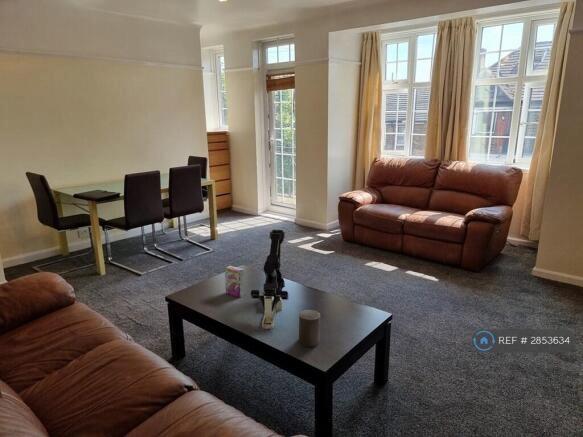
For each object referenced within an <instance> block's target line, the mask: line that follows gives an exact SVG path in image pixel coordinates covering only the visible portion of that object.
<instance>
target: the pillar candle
mask: <svg viewBox="0 0 583 437" xmlns="http://www.w3.org/2000/svg"><path fill="white" fill-rule="evenodd" d="M298 314H299V315H298V316H299V317H298V343H299V344H300V345H301V346H302V347H305V348H306V347H307V348H315V347H316V346H319V344H320V337H321V336H320V335H321V333H320V328H321V313H320V312H318V311H317V310H312V309H305V310H302V311H300V312H299V313H298Z"/></svg>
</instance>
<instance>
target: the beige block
mask: <svg viewBox="0 0 583 437" xmlns="http://www.w3.org/2000/svg"><path fill="white" fill-rule="evenodd" d="M274 311H275V308H274V310H273V312H272V297H266V296H265V311H264V315H265V323H271V322H272V318H273V314H274Z"/></svg>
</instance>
